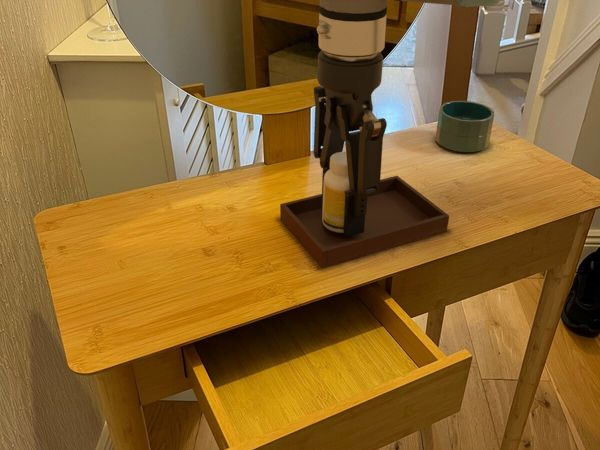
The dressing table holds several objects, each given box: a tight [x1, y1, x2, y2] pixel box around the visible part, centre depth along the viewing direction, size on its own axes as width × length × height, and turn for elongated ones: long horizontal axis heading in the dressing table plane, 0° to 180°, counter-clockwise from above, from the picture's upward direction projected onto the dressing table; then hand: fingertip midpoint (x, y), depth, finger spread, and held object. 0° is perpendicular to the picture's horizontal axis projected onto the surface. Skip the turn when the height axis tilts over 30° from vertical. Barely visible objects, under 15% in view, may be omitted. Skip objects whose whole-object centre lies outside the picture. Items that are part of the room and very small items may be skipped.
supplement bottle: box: [322, 151, 350, 233], centre depth 82 cm, size 5×5×10 cm
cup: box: [435, 100, 495, 153], centre depth 107 cm, size 9×9×6 cm
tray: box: [279, 175, 450, 269], centre depth 85 cm, size 19×13×3 cm, turn 116°
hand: (342, 221), depth 84 cm, fingers closed on supplement bottle, 5 cm apart
